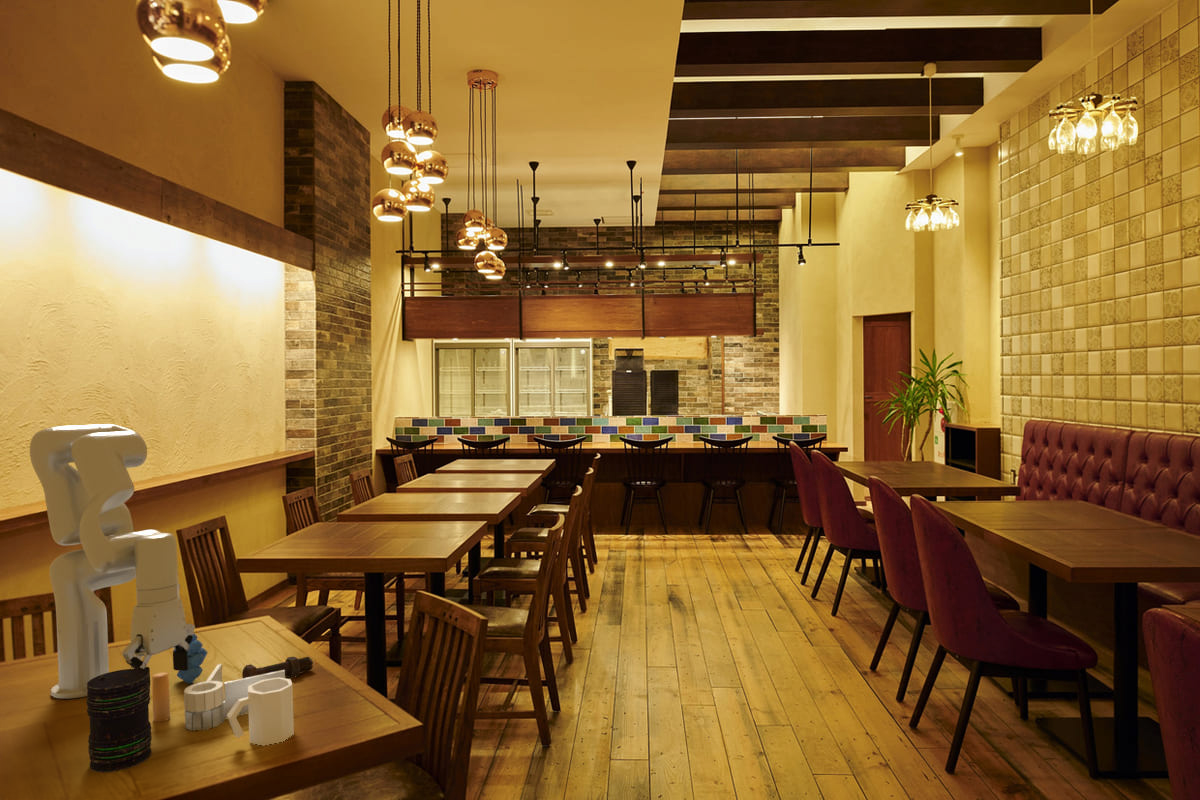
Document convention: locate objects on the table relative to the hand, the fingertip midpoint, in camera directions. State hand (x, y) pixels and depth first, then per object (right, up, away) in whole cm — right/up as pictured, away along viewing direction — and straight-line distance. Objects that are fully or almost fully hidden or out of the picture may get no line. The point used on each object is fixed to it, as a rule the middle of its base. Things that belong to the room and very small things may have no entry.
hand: (162, 678), depth 160 cm
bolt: (+15, -8, +21) cm, 27 cm away
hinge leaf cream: (+9, -8, +3) cm, 12 cm away
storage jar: (+2, -9, -17) cm, 19 cm away
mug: (+25, -8, -10) cm, 28 cm away
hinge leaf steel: (+15, -8, +1) cm, 17 cm away
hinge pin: (0, -9, +1) cm, 9 cm away
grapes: (-4, -9, +21) cm, 23 cm away
